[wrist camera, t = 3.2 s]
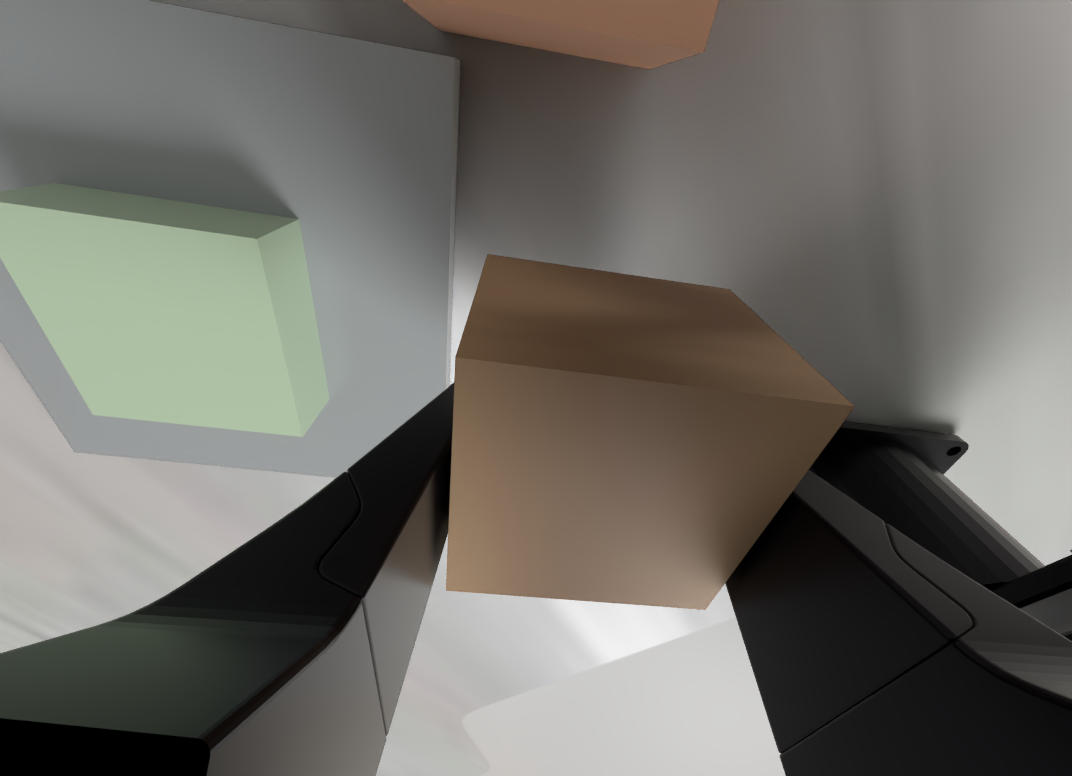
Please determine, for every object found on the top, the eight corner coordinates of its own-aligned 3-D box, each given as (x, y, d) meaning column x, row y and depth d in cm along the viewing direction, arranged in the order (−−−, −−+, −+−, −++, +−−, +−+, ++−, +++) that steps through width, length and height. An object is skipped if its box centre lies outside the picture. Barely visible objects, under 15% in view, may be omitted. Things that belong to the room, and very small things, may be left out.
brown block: (729, 289, 8) (855, 406, 5) (654, 462, 11) (705, 609, 8) (487, 254, 8) (455, 356, 5) (472, 443, 11) (446, 590, 8)
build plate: (460, 60, 10) (437, 46, 7) (446, 473, 18) (433, 529, 15) (-216, -65, 9) (-497, -130, 6) (93, 438, 16) (20, 492, 14)
